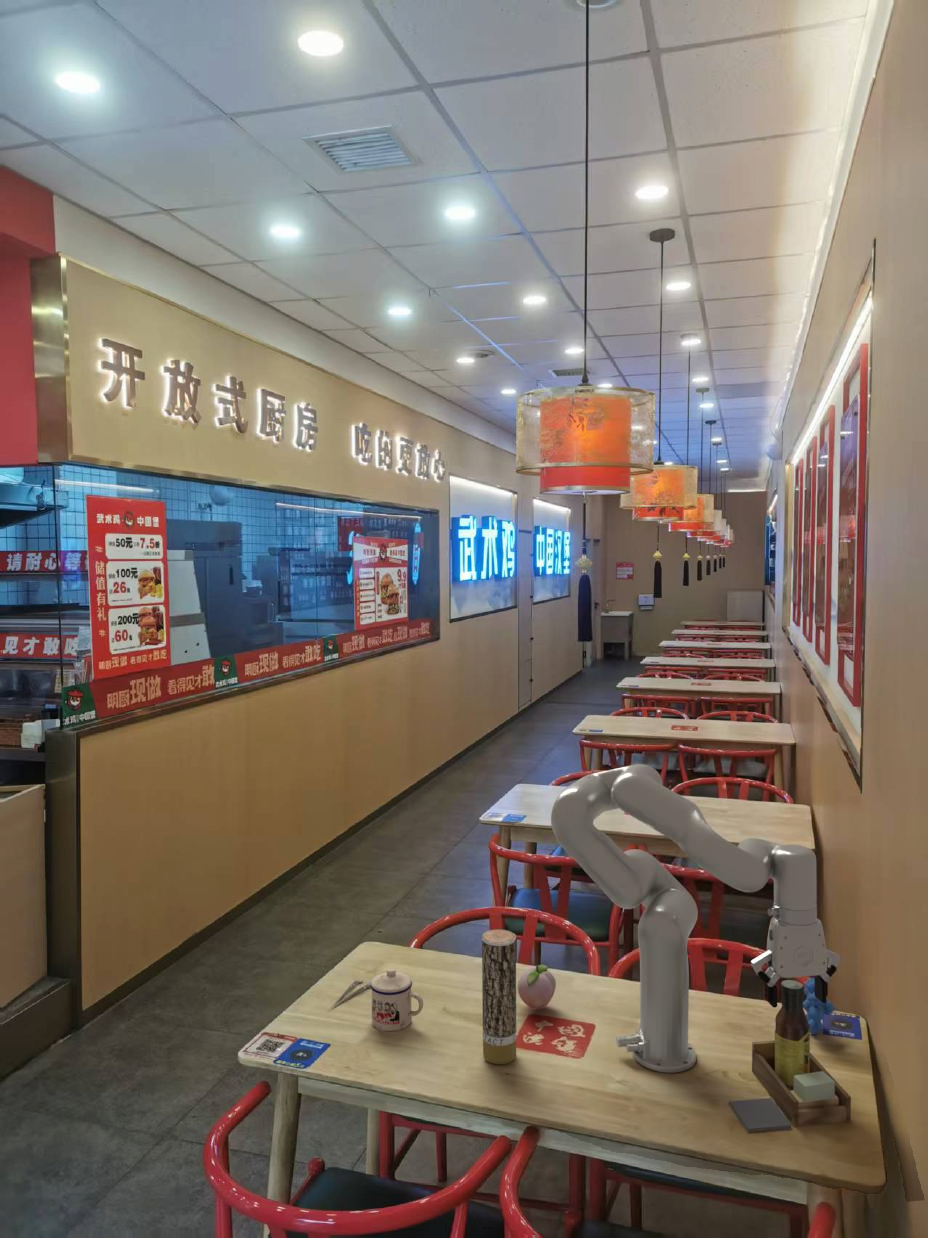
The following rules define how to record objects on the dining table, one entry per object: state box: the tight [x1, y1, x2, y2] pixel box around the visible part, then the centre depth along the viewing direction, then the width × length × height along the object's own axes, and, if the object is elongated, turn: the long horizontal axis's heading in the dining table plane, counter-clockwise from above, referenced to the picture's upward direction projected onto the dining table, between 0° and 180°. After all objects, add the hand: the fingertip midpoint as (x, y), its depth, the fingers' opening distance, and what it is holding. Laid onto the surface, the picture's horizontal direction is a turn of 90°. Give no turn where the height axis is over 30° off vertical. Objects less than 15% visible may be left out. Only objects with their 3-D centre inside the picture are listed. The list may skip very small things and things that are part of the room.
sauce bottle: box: [774, 979, 811, 1091], centre depth 167 cm, size 7×6×20 cm
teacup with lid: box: [370, 967, 424, 1032], centre depth 192 cm, size 12×9×12 cm
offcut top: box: [793, 1071, 835, 1103], centre depth 160 cm, size 6×4×3 cm, turn 103°
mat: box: [728, 1097, 792, 1133], centre depth 159 cm, size 8×8×1 cm
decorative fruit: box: [516, 964, 557, 1010], centre depth 198 cm, size 9×8×10 cm
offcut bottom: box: [790, 1090, 839, 1109], centre depth 160 cm, size 8×4×4 cm, turn 97°
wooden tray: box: [751, 1039, 852, 1127], centre depth 165 cm, size 11×17×6 cm, turn 6°
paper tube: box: [481, 929, 517, 1065], centre depth 178 cm, size 7×7×25 cm
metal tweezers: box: [327, 979, 371, 1012], centre depth 204 cm, size 17×5×2 cm, turn 151°
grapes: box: [803, 977, 836, 1036], centre depth 186 cm, size 12×7×12 cm, turn 165°
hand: (796, 1002), depth 167 cm, fingers open, 9 cm apart
